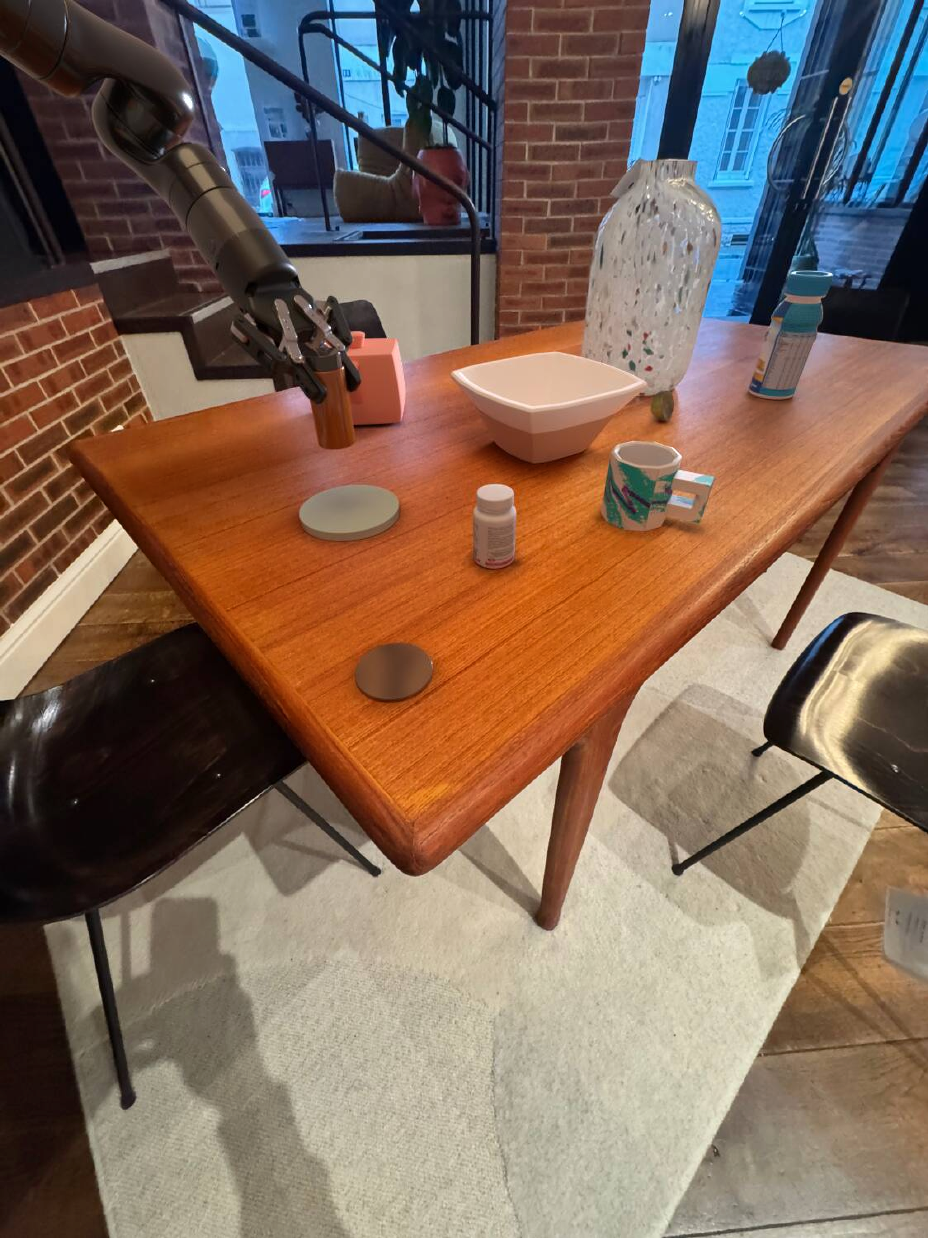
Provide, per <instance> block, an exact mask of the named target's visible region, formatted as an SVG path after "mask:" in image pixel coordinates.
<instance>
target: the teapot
mask: <svg viewBox="0 0 928 1238" xmlns="http://www.w3.org/2000/svg"><path fill="white" fill-rule="evenodd" d="M350 332H351V335H352V337H353V342H352V344H351V346H350V347H349V349H348V351H347V353H346V354H347V355H348V357H349V358H350V360H351V361H352V363H353V364H354V366H355V367H356V369H357V370H358V371H359V373H360V376H361V384H360V385H359V387H358V389H357V390H356V391H354V392H349V391H348V394H349V401H350V407H351V414H352V420H353V426H356V425H357V426H361V425H382V424H383V425H384V424H396V423H401V422H402V420H403V416H404V411H405V406H406V405H405V403H406V383H405V376H404V369H403V368H404V367H403V363H402V357H401V352H400V347H399V343H398V339H397V338H396V337H378V338H377V337H374V338H365V337H366V333H365V332H363V331H360V330H359V331H358V330H357V331H356V330H355V331H354V330H353V331H350ZM325 344H326V345H327V346H328V347H329V348H332V347H331V346H330V345H329V344H328V343H327V342H326V341H325ZM302 362H303V363H304V360H303V361H302Z"/></svg>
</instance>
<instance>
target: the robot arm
mask: <svg viewBox="0 0 928 1238" xmlns="http://www.w3.org/2000/svg"><path fill="white" fill-rule="evenodd" d="M0 56H1V57H3V58H4V59H6V60H7V61H8V62H10V63H11V64H13V65H14V66H15V67H17V68H18V69H20V70H21V71H22V72H24V73H25V74H27V75H28V76H29V77H31V78H32V79H33V80H35V81H37V82H38V83H39V84H41V85H42V86H44V87H45V88H46V89H48V90H50V91H51V92H53V93H55V94H56V95H59V96H60V97H63V98H66V99H74V98H77V97H79V96H81V95H82V94H84V93H85V92H87V91H88V90H90V88H92V86H94V85H96V84H97V83H98V82H100V81H102V80H104V81H103V82H102V85H101V87H100V88H99V90H98V92H97V94H96V95H95V98H94V99H93V102H92V105H91V119H92V123H93V127H94V130H95V132H96V134H97V137H98V138H99V140H100V141H101V143H102V144H103V146H104V147H105V148H106V149H107V150H108V151H109V152H110V153H111V154H112V155H113V156H114V157H115V158H116V159H117V160H118V161H120V162H121V163H122V164H123V165H125V166H126V167H127V168H128V169H129V170H131V171H132V172H133V173H134V174H135V175H137V176H138V177H139V178H141V180H143V181H144V183H145V184H147V185H148V186H149V187H150V188H151V189H152V190H153V191H154V192H155V193H156V195H158V196H159V197H160V199H162V200H163V202H164V203H165V204H166V205H167V207H168V208H169V209H170V210H171V212H172V213H173V214H174V216H175V217H176V219H177V220H178V222H179V223H180V224H181V226H182V227H183V229H184V230H185V231H186V233H187V234H188V235H189V237H190V239H191V241H192V242H193V244H194V245H195V247H196V249H197V251H198V253H199V255H200V256H201V258H202V259H203V261H204V262H205V264H206V265H207V266H208V268H209V269H210V271H211V272H212V273H213V275H214V276H215V278H216V279H217V281H218V282H219V284H220V286H222V288H223V289H224V291H225V292H226V293H227V294H228V296H229V298H230V299H231V301H232V302H233V303H234V305H235V306H236V308H237V309H238V310H239V311H240V313H236V314H235V315H234V316H233V319H232V322H231V326H230V330H229V337H230V338H231V340H233V341H234V342H235V343H236V344H237V345H238V346H239V347H240V348H241V349H242V350H244V351H245V352H246V353H247V354H248V355H249V356H250V357H251V358H252V359H253V360H254V361H255V362H257V363H258V365H260V366H261V367H262V368H263V369H264V370H265V371H266V372H267V373H268V374H269V375H270V376H272V377H278V376H280V374H284V375H286V376H288V377H290V378H292V379H293V380H294V382H295V383H296V384H297V385H298V387H299V389H301V392H302V393H303V394H304V396H305V397H306V398H307V399H308V400H309V401H310V400H311V401H312V400H313V402H314V403H315V404H316V405H317V404H320V403H323V401H324V400H325V398H326V396H327V390H326V388H325V387H324V386H323V384H322V383H321V381H320V380H319V378H318V377H317V376H316V374H315V373H314V371H313V370H312V368H311V367H310V365H309V364H308V363H303V362H302V361H304V359H303V354H302V353H301V350H300V347H299V345H298V344H305V345H306V347H308V348H309V349H314V348H324V347H328V346H327V345H326V344H325V341H326V342H327V343H328V344H329V345H330V346H331V347H332V348H336V349H339V350H340V354H341V360H342V364H343V365H344V368H345V374H346V381H347V387H348V391H349V392H354V391H356V390H357V389H358V387H359V385H360V384H361V376H360V373H359V371H358V370H357V369H356V367H355V366H354V364H353V363H352V361H351V360H350V358H349V357H348V355H347V354H346V353H347V351H348V349H349V347H350V346H351V344H352V342H353V337H352V335H351V332H352V331H351V329H350V327H349V325H348V323H347V320H346V318H345V315H344V312H343V310H342V308H341V305H340V303H339V300H338V299H337V298H336V297H335V296H334V295H328V296H327V298H326V300H318V299H315V298H314V297H313V296H312V294H310V293H309V292H308V291H306V289H305V288H303V286H302V284H301V281H300V278H299V275H298V272H297V269H296V267H295V266H294V265H293V263H292V262H291V260H290V259H289V257H288V256H287V254H286V253H285V251H284V250H283V249H282V247H281V245H280V244H279V243H278V241H277V240H276V238H275V236H274V235H273V234H272V233H271V230H269V228H268V227H267V225H266V224H265V222H264V221H263V219H262V218H261V216H260V215H259V214H258V212H257V211H256V210H255V209H254V208H253V206H252V205H251V204H250V203H249V202H248V201H247V200H246V198H245V197H244V196H243V195H242V193H241V192H240V190H239V189H238V187H237V185H236V184H235V183H234V182H233V180H232V179H231V177H230V176H229V174H228V172H227V171H226V170H225V168H224V167H223V165H222V163H220V161H219V160H218V158H217V157H216V156H215V155H214V154H213V152H212V151H210V150H209V149H208V148H207V147H206V146H204V145H203V144H200V143H198V142H195V141H186V142H182V141H183V140H184V139H185V137H186V135H187V134H188V133H189V131H190V130H191V128H192V126H193V124H194V122H195V119H196V116H197V105H196V101H195V97H194V96H195V95H194V94H193V92H192V89H191V86H190V84H189V83H188V81H187V79H186V78H185V76H184V75H183V73H182V71H180V69H178V68H177V66H176V65H175V64H174V63H173V62H172V61H171V60H170V59H169V58H168V57H166V55H164V54H163V53H162V52H161V51H159V50H158V49H157V48H155V47H153V46H152V45H150V44H149V43H147V42H145V41H144V40H142V39H140V38H138V37H136V36H134V35H133V34H131V33H129V32H127V31H125V30H123V29H121V28H119V27H118V26H115V25H113V24H112V23H110V22H108V21H106V20H104V19H103V18H101V17H99V16H98V15H96V14H94V13H93V12H91V11H89V10H88V9H86V8H84V7H83V6H82V5H80V4H78V3H77V2H75V0H0ZM241 313H242V314H241ZM316 332H317V333H316ZM315 333H316V336H315V337H314V335H315ZM267 337H268V338H269V339H268V338H267ZM328 348H329V347H328Z"/></svg>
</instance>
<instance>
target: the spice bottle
mask: <svg viewBox="0 0 928 1238" xmlns="http://www.w3.org/2000/svg"><path fill="white" fill-rule="evenodd" d="M302 358H303V361H304V363H308V364H309V365H310V367H311V368H312V370H313V371H314V373H315V374H316V376H317V377H318V378H319V380H320V381H321V383H322V384H323V386H324V387H325V388H326V390H327V396H326V398H325V400H324V401H323V403H320V404H317V405H316V404H315V403H314V402H313V400H312V401H311V400H309V404H310V409H311V415H312V419H313V423H314V429H315V434H316V439H317V444H318V446H319V447H320V448H322V449H325V450H332V451H333V450H334V451H335V450H342V449H347V448H349V447H352V446H353V445H354V444H355V443H356V441H357V440H356V434H355V428H354V425H353V420H352V414H351V407H350V401H349V394H348V387H347V381H346V374H345V368H344V365H343V364H342V360H341V354H340V350H339V349H336V348H328V347H324V348H314V349H310V348H309V349H306V350H304V351H303V352H302Z"/></svg>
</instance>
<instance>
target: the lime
mask: <svg viewBox="0 0 928 1238" xmlns="http://www.w3.org/2000/svg"><path fill="white" fill-rule="evenodd" d="M674 401H675V400H674V394H673V392H671V390H670V389H663V390H660V391H658V392H657V393H655V395H654V396H653V398H652V400H651V402H650V407H649V410H650V413H651V414H652V416H653V417H654V418H656V419H657V420H659V421H661V422H668V421H670V420H671V418H672V417H673V413H674V410H675V409H674V408H675V402H674Z"/></svg>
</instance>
